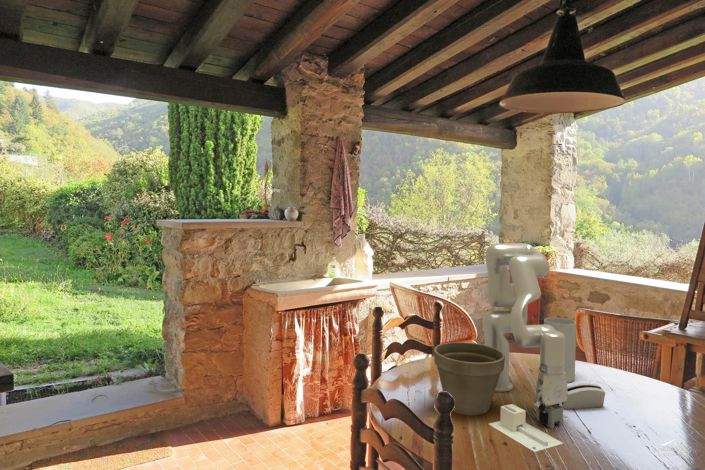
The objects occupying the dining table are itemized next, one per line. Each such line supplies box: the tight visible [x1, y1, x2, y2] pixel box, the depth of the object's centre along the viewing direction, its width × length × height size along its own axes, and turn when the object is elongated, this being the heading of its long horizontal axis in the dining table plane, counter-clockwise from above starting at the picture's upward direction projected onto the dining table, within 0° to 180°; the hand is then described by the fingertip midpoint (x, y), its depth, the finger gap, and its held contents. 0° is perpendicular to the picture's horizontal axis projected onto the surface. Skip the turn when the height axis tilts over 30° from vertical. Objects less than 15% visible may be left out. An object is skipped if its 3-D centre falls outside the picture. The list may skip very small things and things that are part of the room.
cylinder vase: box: [543, 317, 577, 384], centre depth 201 cm, size 12×12×25 cm
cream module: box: [499, 403, 527, 432], centre depth 154 cm, size 6×5×6 cm
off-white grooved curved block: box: [562, 382, 606, 410], centre depth 172 cm, size 17×5×10 cm, turn 98°
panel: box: [488, 420, 564, 453], centre depth 149 cm, size 20×12×2 cm, turn 25°
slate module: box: [536, 404, 564, 429], centre depth 156 cm, size 6×5×6 cm
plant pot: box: [433, 341, 505, 416], centre depth 169 cm, size 25×25×22 cm
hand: (549, 420), depth 156 cm, fingers closed on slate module, 5 cm apart
